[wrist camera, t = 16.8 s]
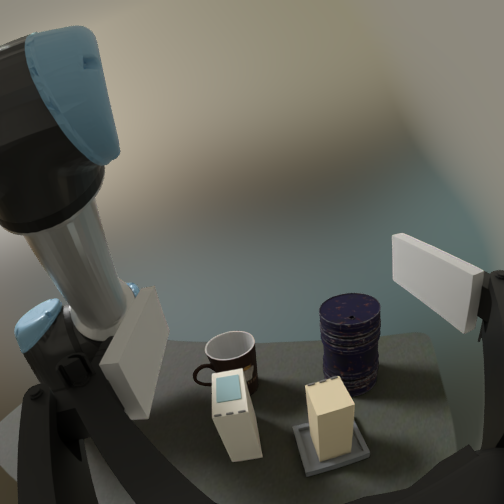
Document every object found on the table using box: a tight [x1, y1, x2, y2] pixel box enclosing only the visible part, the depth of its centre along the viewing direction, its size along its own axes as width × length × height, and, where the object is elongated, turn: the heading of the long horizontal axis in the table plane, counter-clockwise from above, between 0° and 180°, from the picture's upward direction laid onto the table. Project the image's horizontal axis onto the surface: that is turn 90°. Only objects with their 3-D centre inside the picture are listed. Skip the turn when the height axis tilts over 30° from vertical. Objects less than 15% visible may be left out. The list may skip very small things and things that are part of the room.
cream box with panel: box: [212, 368, 263, 462], centre depth 38 cm, size 4×9×11 cm, turn 6°
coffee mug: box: [193, 331, 258, 395], centre depth 50 cm, size 12×9×10 cm
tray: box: [293, 421, 370, 477], centre depth 35 cm, size 9×9×1 cm
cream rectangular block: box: [305, 376, 355, 462], centre depth 33 cm, size 4×6×11 cm
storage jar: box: [319, 293, 381, 397], centre depth 46 cm, size 10×10×15 cm
